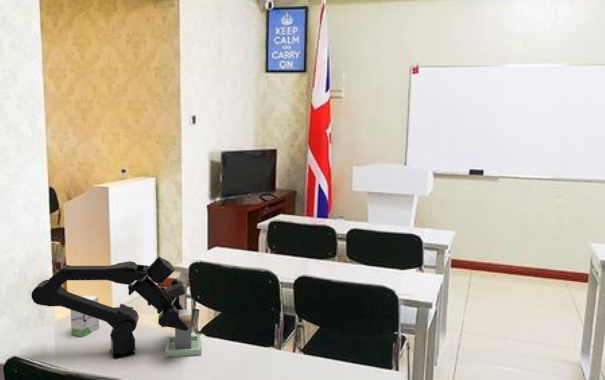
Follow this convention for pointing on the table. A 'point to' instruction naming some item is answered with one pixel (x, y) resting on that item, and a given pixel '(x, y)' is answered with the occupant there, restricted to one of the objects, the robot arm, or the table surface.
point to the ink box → (83, 321)
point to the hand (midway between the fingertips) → (187, 323)
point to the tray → (193, 351)
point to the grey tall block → (180, 335)
